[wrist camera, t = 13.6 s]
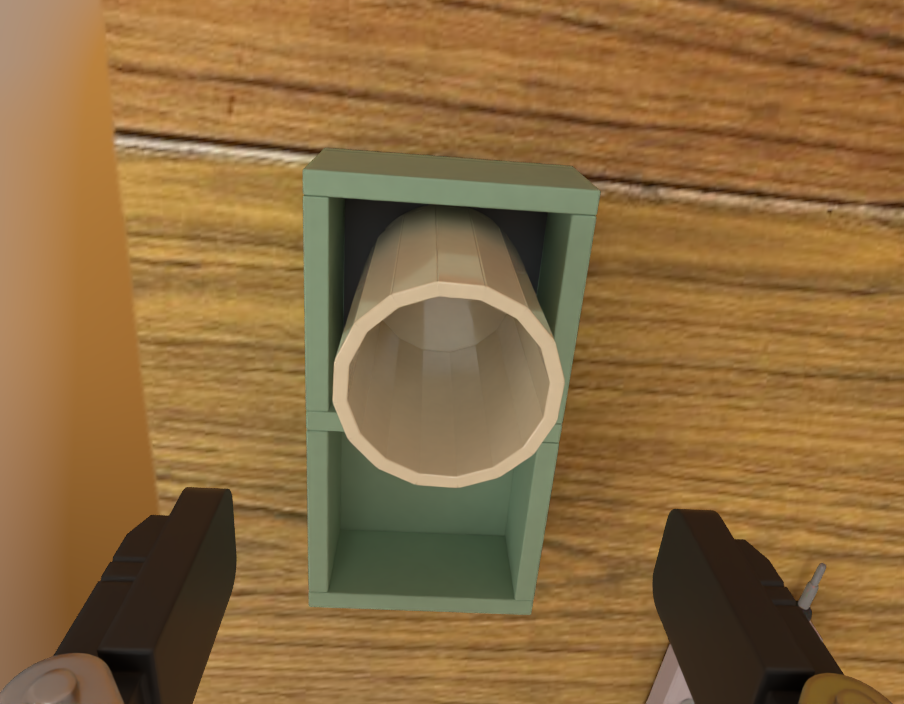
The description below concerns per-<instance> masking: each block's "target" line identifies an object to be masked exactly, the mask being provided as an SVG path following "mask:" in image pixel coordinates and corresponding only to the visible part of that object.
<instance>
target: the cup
mask: <svg viewBox="0 0 904 704" xmlns="http://www.w3.org/2000/svg"><path fill="white" fill-rule="evenodd" d="M564 385H565V378H564V374H563V370H562V366H561V362H560V358H559V354H558V350H557V346H556V342H555V340H554V337H553V335H552V333H551V330H550V328H549V325H548V323H547V320H546V318H545V316H544V313H543V311H542V308H541V306H540V304H539V301H538V299H537V296H536V294H535V291H534V289H533V287H532V284H531V282H530V279H529V277H528V274H527V272H526V270H525V267H524V265H523V262H522V260H521V258H520V255H519V253H518V251H517V249H516V248H515V246H514V245H513V243H512V241H511V240H510V238H509V237H508V235H507V234H506V233H505V232H504V231H503V229H502V228H501V227H500V226H499V225H498V224H496V223H495V222H494V221H493V220H492V219H490V218H489V217H487V216H485V215H484V214H482V213H480V212H478V211H476V210H474V209H471V208H468V207H464V206H451V205H436V204H433V205H427V206H423V207H419V208H416V209H413V210H411V211H409V212H407V213H405V214H403V215H401V216H399V217H398V218H397V219H395V220H394V221H392V222H391V223H390V224H389V225H388V226H387V227H386V228H385V229H384V230H383V231H382V232H381V234H380V235H379V236H378V237H377V239H376V241H375V242H374V244H373V246H372V248H371V250H370V252H369V255H368V257H367V259H366V261H365V263H364V266H363V269H362V273H361V276H360V279H359V282H358V286H357V289H356V292H355V295H354V299H353V302H352V305H351V308H350V312H349V315H348V318H347V321H346V325H345V328H344V331H343V334H342V338H341V341H340V344H339V348H338V351H337V354H336V357H335V361H334V373H333V396H332V401H333V405H334V407H335V410H336V412H337V415H338V417H339V419H340V422H341V424H342V427H343V429H344V431H345V434H346V436H347V438H348V439H349V441H350V442H351V443H352V444H353V445H354V446H355V447H356V448H357V449H358V450H359V451H360V452H361V453H362V454H363V455H364V456H365V457H366V458H367V459H368V460H369V461H370V462H371V463H372V464H373V465H374V466H375V467H377V468H378V469H380V470H382V471H385V472H387V473H389V474H392V475H394V476H396V477H398V478H401V479H403V480H405V481H408V482H410V483H412V484H416V485H422V486H435V487H448V488H461V487H465V486H469V485H473V484H477V483H481V482H485V481H488V480H492V479H496V478H498V477H501V476H503V475H504V474H506V473H507V472H509V471H510V470H512V469H513V468H515V467H516V466H517V465H519V464H520V463H522V462H523V461H525V460H526V459H528V458H529V457H531V456H532V455H533V454H534V453H535V452H536V451H537V449H538V448H539V446H540V445H541V443H542V442H543V441H544V439H545V438H546V436H547V435H548V433H549V432H550V431H551V429H552V428H553V426H554V425H555V423H556V421H557V419H558V415H559V410H560V405H561V400H562V395H563V390H564Z"/></svg>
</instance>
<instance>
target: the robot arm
mask: <svg viewBox="0 0 904 704" xmlns="http://www.w3.org/2000/svg"><path fill="white" fill-rule="evenodd" d="M235 573H236V543H235V528H234V514H233V500H232V494H231V491H230V490H229V489H218V488H194V487H186V488H185V489H184V490H183V491H182V493H181V495H180V497H179V499H178V500H177V502H176V504H175V506H174V508H173V510H172V511H171V513H170V515H169V516H163V515H150V516H149V517H148V518H147V519H146V520H144V521H143V522H142V523H140V524H139V525H138V526H137V527H135V528H134V529H133V530H132V531H130V532H129V533H128V534H127V535H126V537H125V538H124V540H123V542H122V543H121V545H120V547H119V548H118V550H117V551H116V553H115V555H114V556H113V561H112V562H110V563H109V565H108V566H107V568H106V570H105V571H104V573H103V575H102V576H101V581H99V582H98V583H97V584H96V586H95V588H94V590H93V591H92V593H91V594H90V596H89V598H88V599H87V601H86V603H85V604H84V606H83V608H82V610H81V611H80V613H79V614H78V616H77V618H76V619H75V621H74V623H73V624H72V626H71V627H70V629H69V631H68V632H67V634H66V636H65V638H64V639H63V641H62V642H61V644H60V646H59V647H58V649H57V651H56V653H55V654H54V656H53V657H50V658H47V659H44V660H42V661H40V662H37V663H35V664H33V665H32V666H30V667H28V668H27V669H25V670H23V671H22V672H21V673H19V674H18V675H17V676H15V677H14V678H13V679H12V680H11V681H10V682H9V683H8V684H7V685H6V686H5V687H4V688H3V690H2V691H1V692H0V704H192V703H193V701H194V698H195V695H196V692H197V689H198V686H199V684H200V681H201V678H202V675H203V672H204V669H205V666H206V664H207V661H208V658H209V655H210V652H211V649H212V647H213V644H214V641H215V638H216V635H217V632H218V630H219V627H220V624H221V621H222V618H223V615H224V613H225V610H226V607H227V604H228V601H229V598H230V596H231V592H232V589H233V585H234V580H235ZM653 597H654V602H655V606H656V609H657V612H658V614H659V617H660V619H661V621H662V624H663V626H664V629H665V631H666V634H667V636H668V639H669V641H670V644H671V646H672V649H673V651H674V654H675V656H676V659H677V661H678V664H679V666H680V669H681V671H682V674H683V676H684V679H685V681H686V684H687V686H688V689H689V691H690V694H691V696H692V699H693V701H694V703H695V704H892V703H891V702H890V701H889V700H888V699H887V698H886V697H884V696H883V695H882V694H881V693H879V692H878V691H876V690H875V689H873V688H872V687H870V686H869V685H867V684H865V683H863V682H861V681H859V680H856V679H854V678H851V677H848V676H845V675H844V674H843V672H842V671H841V669H840V668H839V666H838V665H837V663H836V662H835V660H834V659H833V657H832V656H831V654H830V653H829V651H828V650H827V648H826V646H825V645H824V643H823V642H822V640H821V639H820V637H819V636H818V634H817V633H816V631H815V630H814V628H813V627H812V625H811V624H810V622H809V621H808V619H807V617H806V616H805V614H804V613H803V611H802V610H801V608H800V607H799V606H796V601H795V599H794V598H793V596H792V595H791V593H790V592H789V590H788V588H787V587H784V582H783V581H782V579H781V578H780V576H779V575H778V573H777V572H776V570H775V569H774V567H773V566H772V564H771V563H770V561H769V560H768V559H767V558H766V557H765V556H764V555H762V554H761V553H760V552H759V551H758V550H756V549H755V548H754V547H753V546H752V545H750V544H749V543H748V542H747V541H746V540H739V539H734V538H733V536H732V535H731V533H730V531H729V530H728V528H727V527H726V525H725V523H724V522H723V520H722V518H721V517H720V515H719V514H718V513H717V512H716V511H712V510H690V509H673V510H672V511H671V512H670V513H669V516H668V519H667V522H666V526H665V530H664V534H663V538H662V542H661V545H660V549H659V553H658V557H657V561H656V565H655V569H654V573H653Z"/></svg>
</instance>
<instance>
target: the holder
mask: <svg viewBox="0 0 904 704" xmlns="http://www.w3.org/2000/svg"><path fill="white" fill-rule="evenodd" d="M600 193H601V192H600V190H599V189H598V188H597V187H595V186H594V185H593V184H592V183H591V182H590V181H589V180H587V179H586V178H585V177H584V176H583V175H582V174H581V173H579V172H578V171H577V170H576V169H575V168H574V167H573V166H565V165H552V164H538V163H525V162H511V161H498V160H484V159H471V158H457V157H444V156H430V155H417V154H403V153H390V152H376V151H363V150H349V149H336V148H324V149H323V150H322V151H321V152H320V153H319V154H318V155H317V156H316V157H315V158H314V159H313V160H312V161H311V162H310V163H309V164H308V165H307V166H306V167H305V168H304V169H303V194H304V196H303V241H304V312H305V382H306V410H307V411H306V428H307V431H306V440H307V511H308V583H309V606H310V607H328V608H355V609H382V610H409V611H437V612H464V613H491V614H518V615H531V612H532V606H533V599H534V594H535V588H536V582H537V576H538V570H539V564H540V558H541V552H542V546H543V540H544V534H545V528H546V522H547V515H548V509H549V503H550V497H551V491H552V485H553V479H554V473H555V467H556V461H557V455H558V449H559V441H560V436H561V429H562V423H563V418H564V412H565V406H566V400H567V394H568V388H569V381H570V375H571V369H572V363H573V357H574V351H575V345H576V339H577V333H578V327H579V321H580V315H581V309H582V302H583V296H584V290H585V284H586V278H587V272H588V266H589V260H590V254H591V248H592V242H593V236H594V229H595V223H596V216H595V215H596V214H597V211H598V205H599V199H600ZM433 204H436V205H451V206H464V207H468V208H471V209H474V210H476V211H478V212H480V213H482V214H484V215H485V216H487V217H489V218H490V219H492V220H493V221H494V222H495V223H496V224H498V225H499V226H500V227H501V228H502V229H503V231H504V232H505V233H506V234H507V235H508V237H509V238H510V240H511V241H512V243H513V245H514V246H515V248H516V249H517V251H518V253H519V255H520V258H521V260H522V262H523V265H524V267H525V270H526V272H527V274H528V277H529V279H530V282H531V284H532V287H533V289H534V291H535V294H536V296H537V299H538V301H539V304H540V306H541V308H542V311H543V313H544V316H545V318H546V320H547V323H548V325H549V328H550V330H551V333H552V335H553V337H554V340H555V342H556V346H557V350H558V354H559V358H560V362H561V366H562V370H563V374H564V378H565V385H564V390H563V395H562V400H561V405H560V410H559V415H558V419H557V421H556V423H555V425H554V426H553V428H552V429H551V431H550V432H549V433H548V435H547V436H546V438H545V439H544V441H543V442H542V443H541V445H540V446H539V448H538V449H537V451H536V452H535V453H534V454H533V455H532V456H531V457H529V458H528V459H526V460H525V461H523V462H522V463H520V464H519V465H517V466H516V467H515V468H513V469H512V470H510V471H509V472H507V473H506V474H504V475H503V476H501V477H498V478H496V479H492V480H488V481H485V482H481V483H477V484H473V485H469V486H465V487H461V488H448V487H435V486H422V485H416V484H412V483H410V482H408V481H405V480H403V479H401V478H398V477H396V476H394V475H392V474H389V473H387V472H385V471H382V470H380V469H378V468H377V467H375V466H374V465H373V464H372V463H371V462H370V461H369V460H368V459H367V458H366V457H365V456H364V455H363V454H362V453H361V452H360V451H359V450H358V449H357V448H356V447H355V446H354V445H353V444H352V443H351V442H350V441H349V439H348V438H347V436H346V434H345V431H344V429H343V427H342V424H341V422H340V419H339V417H338V415H337V412H336V410H335V407H334V405H333V401H332V396H333V373H334V361H335V357H336V354H337V351H338V348H339V344H340V341H341V338H342V334H343V331H344V328H345V325H346V321H347V318H348V315H349V312H350V308H351V305H352V302H353V299H354V295H355V292H356V289H357V286H358V282H359V279H360V276H361V273H362V269H363V266H364V263H365V261H366V259H367V257H368V255H369V252H370V250H371V248H372V246H373V244H374V242H375V241H376V239H377V237H378V236H379V235H380V234H381V232H382V231H383V230H384V229H385V228H386V227H387V226H388V225H389V224H390V223H391V222H392V221H394V220H395V219H397V218H398V217H399V216H401V215H403V214H405V213H407V212H409V211H411V210H413V209H416V208H419V207H423V206H427V205H433Z"/></svg>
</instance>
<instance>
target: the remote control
mask: <svg viewBox="0 0 904 704" xmlns="http://www.w3.org/2000/svg"><path fill="white" fill-rule="evenodd" d="M825 569H826V565H825V564H824V563H820V564H819V566H818V567H817V569H816V571H815V573H814V575H813V577H812V580H811V581H809V582H808V583H807V585H806V587H805V589H804V591H803V593H802V595H801V597H800V599H799V601H796V606H799V607H800V608H801V610H802V611H803V613H804V614H805V616H806V617H807V619H808V621H809V622H810V624H811V625H812V627H813V628H814V630H815V631H816V633H817V634H818V636H819V637H820V639H821V640H822V642H823V639H822V638H821V636H820V635H819V633H818V632H817V630H816V629H815V627H814V626H813V624H812V623H811V621H810V619H811V616H812V611H811V608H810V605H811V603H812V601H813V599H814V597H815V595H816V593H817V590H818V584H819V582H820V580H821V578H822V576H823V574H824V572H825ZM646 704H695V703H694V701H693V699H692V696H691V694H690V691H689V689H688V686H687V684H686V681H685V679H684V676H683V674H682V671H681V669H680V666H679V664H678V661H677V659H676V656H675V654H674V651H673V649H672V646H671V644H670V645H669V647H668V650H667V652H666V655H665V657H664V660H663V662H662V665H661V667H660V670H659V672H658V675H657V677H656V680H655V682H654V685H653V687H652V690H651V692H650V695H649V697H648V700H647V702H646Z"/></svg>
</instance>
